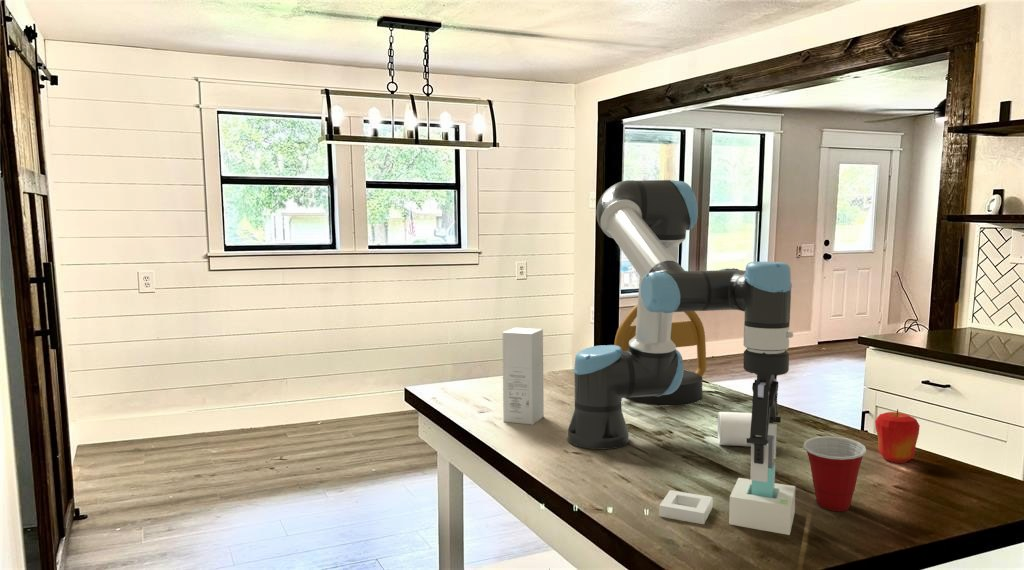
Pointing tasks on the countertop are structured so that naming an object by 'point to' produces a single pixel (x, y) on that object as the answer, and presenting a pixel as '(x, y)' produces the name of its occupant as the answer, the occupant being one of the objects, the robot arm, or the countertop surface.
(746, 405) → the countertop surface
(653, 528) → the countertop surface
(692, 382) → the chair
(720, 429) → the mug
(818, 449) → the plastic cup
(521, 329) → the tall white carton
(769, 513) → the port
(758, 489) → the plug
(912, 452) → the apple
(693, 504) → the holster
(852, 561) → the countertop surface
